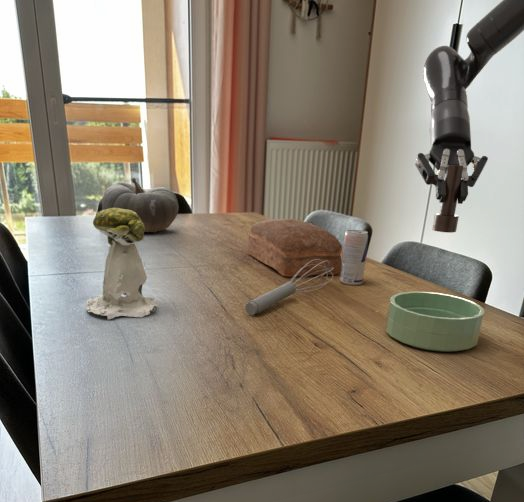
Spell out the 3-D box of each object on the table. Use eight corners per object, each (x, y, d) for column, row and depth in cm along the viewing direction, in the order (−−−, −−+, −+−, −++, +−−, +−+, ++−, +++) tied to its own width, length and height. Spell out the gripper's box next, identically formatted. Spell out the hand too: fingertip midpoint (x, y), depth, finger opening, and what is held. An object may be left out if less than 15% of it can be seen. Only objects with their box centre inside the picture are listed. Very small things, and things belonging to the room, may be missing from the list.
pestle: (449, 228, 102) (460, 165, 98) (460, 232, 98) (472, 166, 94) (428, 228, 102) (439, 164, 97) (438, 232, 98) (450, 165, 93)
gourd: (101, 215, 183) (106, 165, 175) (171, 227, 190) (179, 180, 183) (97, 235, 162) (102, 179, 154) (176, 248, 169) (185, 195, 162)
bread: (282, 279, 122) (285, 230, 118) (243, 252, 148) (244, 212, 143) (345, 275, 128) (350, 229, 124) (297, 251, 153) (300, 212, 149)
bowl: (450, 322, 98) (455, 291, 96) (495, 353, 84) (503, 318, 82) (373, 322, 96) (377, 291, 94) (406, 355, 82) (412, 319, 79)
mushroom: (83, 302, 99) (73, 204, 92) (149, 296, 104) (145, 203, 97) (90, 321, 89) (79, 213, 82) (163, 314, 94) (159, 212, 87)
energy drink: (364, 281, 124) (371, 231, 119) (359, 286, 119) (365, 234, 114) (343, 278, 126) (348, 228, 121) (337, 283, 121) (342, 231, 116)
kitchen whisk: (230, 315, 96) (231, 282, 93) (313, 281, 122) (316, 255, 120) (257, 322, 93) (259, 288, 91) (337, 286, 120) (340, 259, 117)
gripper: (418, 113, 100) (418, 184, 93) (492, 116, 98) (498, 188, 92) (410, 143, 106) (409, 211, 100) (479, 146, 105) (484, 215, 99)
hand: (452, 200), depth 96 cm, fingers closed on pestle, 3 cm apart
